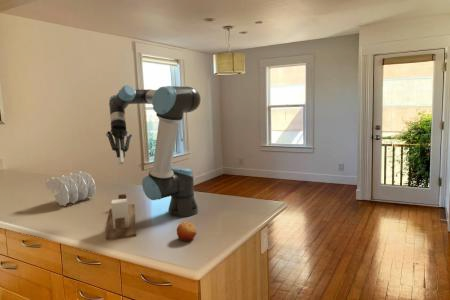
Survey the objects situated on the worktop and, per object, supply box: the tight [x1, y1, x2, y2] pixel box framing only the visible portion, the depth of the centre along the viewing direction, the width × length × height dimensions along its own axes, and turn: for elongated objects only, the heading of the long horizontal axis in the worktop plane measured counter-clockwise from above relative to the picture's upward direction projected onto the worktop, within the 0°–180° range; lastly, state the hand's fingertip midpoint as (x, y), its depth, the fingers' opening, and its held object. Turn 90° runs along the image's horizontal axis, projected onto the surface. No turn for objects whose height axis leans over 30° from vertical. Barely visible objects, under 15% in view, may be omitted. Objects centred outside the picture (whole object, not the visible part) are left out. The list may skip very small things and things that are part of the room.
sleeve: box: [110, 198, 129, 230], centre depth 151 cm, size 7×6×12 cm
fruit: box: [176, 221, 197, 242], centre depth 139 cm, size 8×8×8 cm
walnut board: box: [105, 193, 137, 241], centre depth 164 cm, size 12×46×8 cm, turn 15°
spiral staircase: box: [44, 170, 97, 207], centre depth 200 cm, size 18×18×25 cm
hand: (121, 163), depth 167 cm, fingers closed
